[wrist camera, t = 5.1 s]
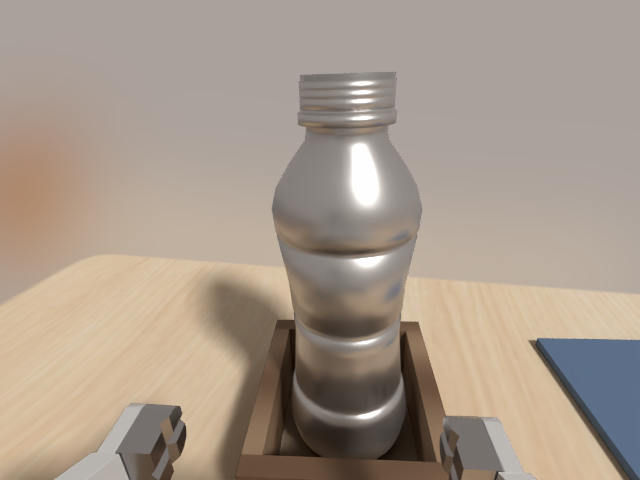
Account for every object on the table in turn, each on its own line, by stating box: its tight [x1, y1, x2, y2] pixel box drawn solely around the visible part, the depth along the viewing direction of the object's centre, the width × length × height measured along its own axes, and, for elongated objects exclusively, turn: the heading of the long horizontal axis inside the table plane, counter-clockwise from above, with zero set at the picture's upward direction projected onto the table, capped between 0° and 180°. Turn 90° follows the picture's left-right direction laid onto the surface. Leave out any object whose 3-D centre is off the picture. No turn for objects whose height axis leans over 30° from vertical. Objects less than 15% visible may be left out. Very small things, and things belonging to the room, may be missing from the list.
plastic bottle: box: [272, 72, 422, 460], centre depth 18 cm, size 6×7×20 cm
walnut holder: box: [235, 320, 449, 480], centre depth 21 cm, size 11×10×4 cm
